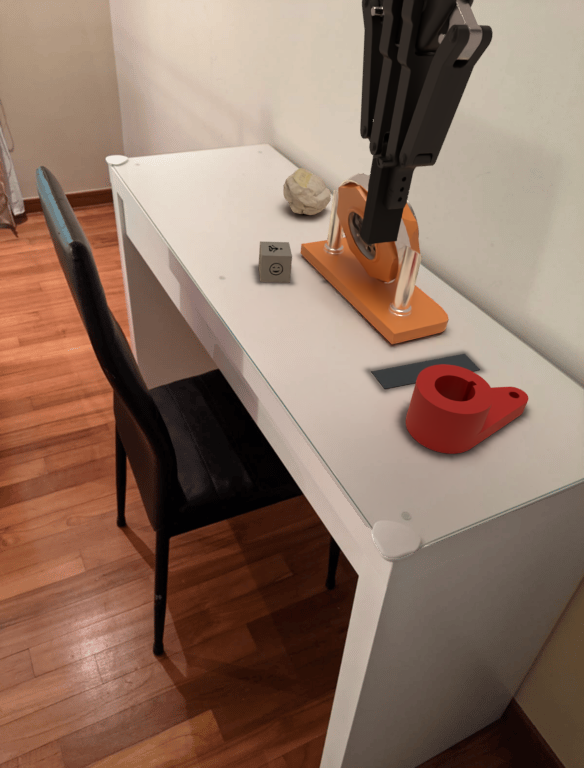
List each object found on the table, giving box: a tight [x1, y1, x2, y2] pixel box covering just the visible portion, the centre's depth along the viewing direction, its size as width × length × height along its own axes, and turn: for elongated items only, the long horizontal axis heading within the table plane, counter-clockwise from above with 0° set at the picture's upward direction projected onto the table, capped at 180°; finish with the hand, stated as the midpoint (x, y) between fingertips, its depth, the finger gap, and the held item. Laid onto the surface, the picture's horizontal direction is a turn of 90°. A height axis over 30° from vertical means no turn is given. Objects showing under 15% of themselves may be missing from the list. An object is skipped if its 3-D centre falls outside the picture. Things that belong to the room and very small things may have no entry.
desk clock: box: [299, 172, 450, 345], centre depth 98 cm, size 12×30×20 cm, turn 27°
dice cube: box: [257, 241, 293, 284], centre depth 104 cm, size 5×5×5 cm
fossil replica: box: [282, 167, 332, 216], centre depth 125 cm, size 12×8×10 cm
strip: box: [370, 353, 481, 390], centre depth 88 cm, size 4×16×1 cm, turn 112°
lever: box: [405, 364, 529, 455], centre depth 79 cm, size 18×9×7 cm, turn 115°
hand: (378, 238), depth 51 cm, fingers closed
